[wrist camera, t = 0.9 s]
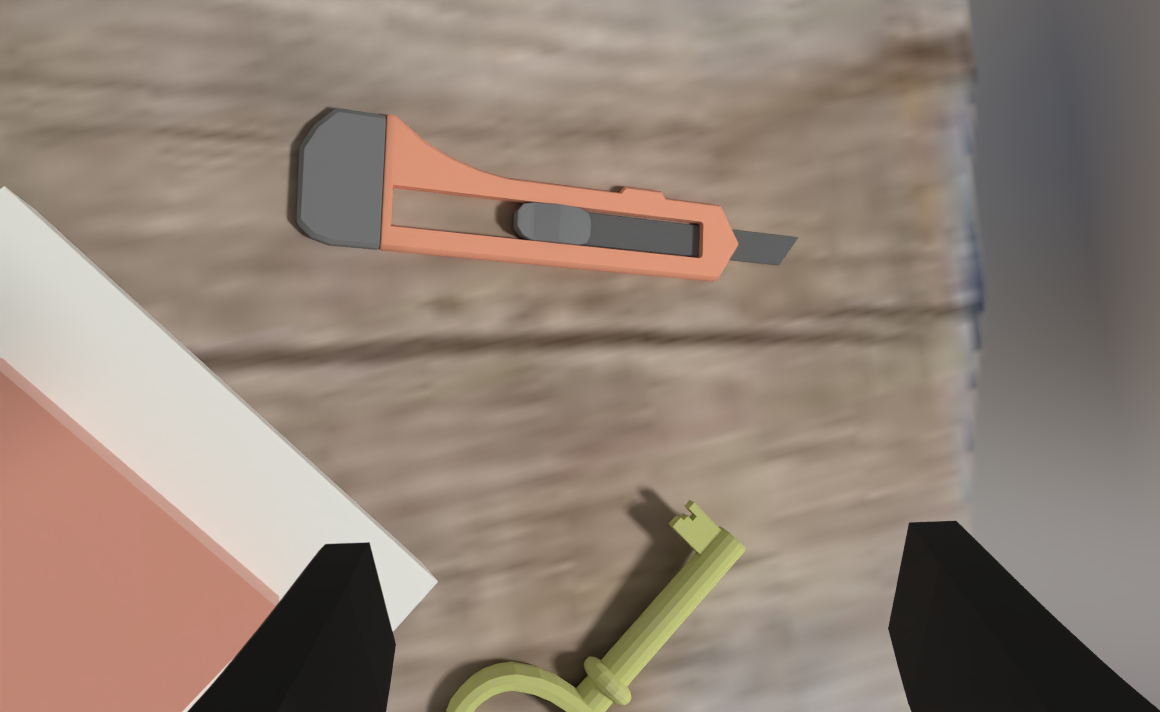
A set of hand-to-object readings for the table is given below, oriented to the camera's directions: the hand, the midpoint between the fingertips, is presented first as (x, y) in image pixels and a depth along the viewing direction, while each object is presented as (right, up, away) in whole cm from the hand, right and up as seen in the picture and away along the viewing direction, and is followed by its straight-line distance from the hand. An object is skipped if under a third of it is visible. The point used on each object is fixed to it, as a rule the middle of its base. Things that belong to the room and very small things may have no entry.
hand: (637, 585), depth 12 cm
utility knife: (-1, +8, +18) cm, 20 cm away
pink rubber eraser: (-14, -2, +9) cm, 17 cm away
